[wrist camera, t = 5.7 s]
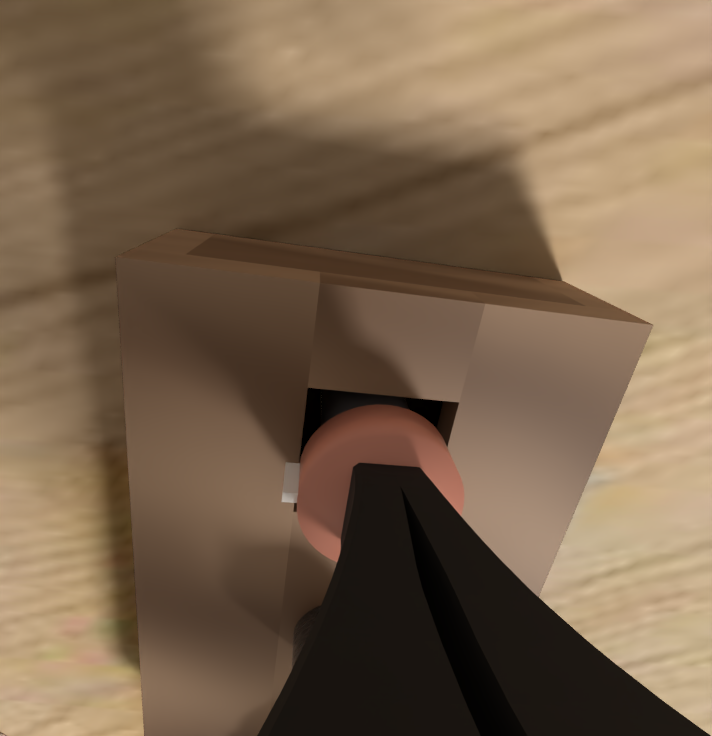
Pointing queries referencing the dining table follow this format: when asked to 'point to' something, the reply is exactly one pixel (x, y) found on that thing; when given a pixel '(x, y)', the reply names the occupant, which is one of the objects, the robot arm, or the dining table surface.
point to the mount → (285, 427)
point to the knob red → (361, 459)
